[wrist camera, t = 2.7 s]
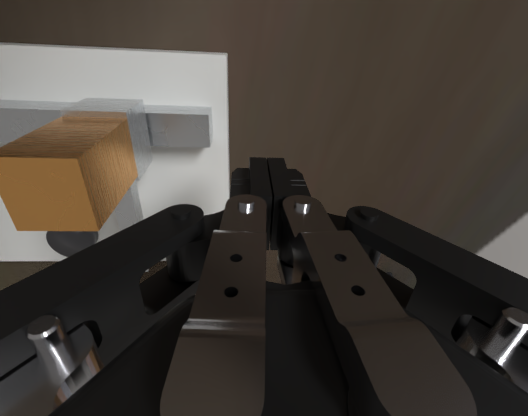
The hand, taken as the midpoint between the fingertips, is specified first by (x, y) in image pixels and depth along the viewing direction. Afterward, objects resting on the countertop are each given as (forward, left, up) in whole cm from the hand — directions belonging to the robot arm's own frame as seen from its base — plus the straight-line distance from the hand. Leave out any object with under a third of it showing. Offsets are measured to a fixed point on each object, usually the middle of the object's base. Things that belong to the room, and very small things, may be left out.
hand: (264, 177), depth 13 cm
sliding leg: (+4, -8, -6) cm, 11 cm away
